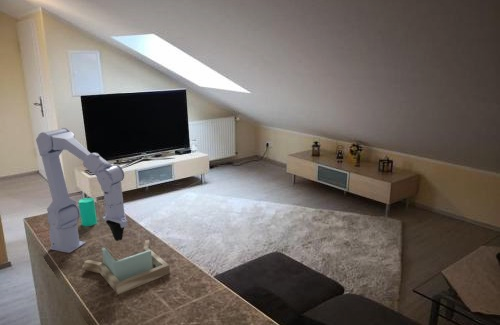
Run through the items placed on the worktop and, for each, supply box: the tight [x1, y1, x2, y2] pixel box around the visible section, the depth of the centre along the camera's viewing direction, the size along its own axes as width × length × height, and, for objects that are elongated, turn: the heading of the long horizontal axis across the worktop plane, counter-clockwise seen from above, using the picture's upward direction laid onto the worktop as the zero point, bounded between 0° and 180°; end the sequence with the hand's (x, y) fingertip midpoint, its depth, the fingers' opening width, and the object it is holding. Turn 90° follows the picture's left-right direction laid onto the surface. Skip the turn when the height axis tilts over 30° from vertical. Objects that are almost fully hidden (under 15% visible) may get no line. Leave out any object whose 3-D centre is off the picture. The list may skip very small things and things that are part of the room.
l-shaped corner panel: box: [101, 247, 154, 281], centre depth 122 cm, size 12×12×8 cm
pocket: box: [84, 239, 171, 295], centre depth 123 cm, size 21×23×3 cm
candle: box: [78, 197, 98, 227], centre depth 158 cm, size 6×6×12 cm
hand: (118, 239), depth 128 cm, fingers closed
